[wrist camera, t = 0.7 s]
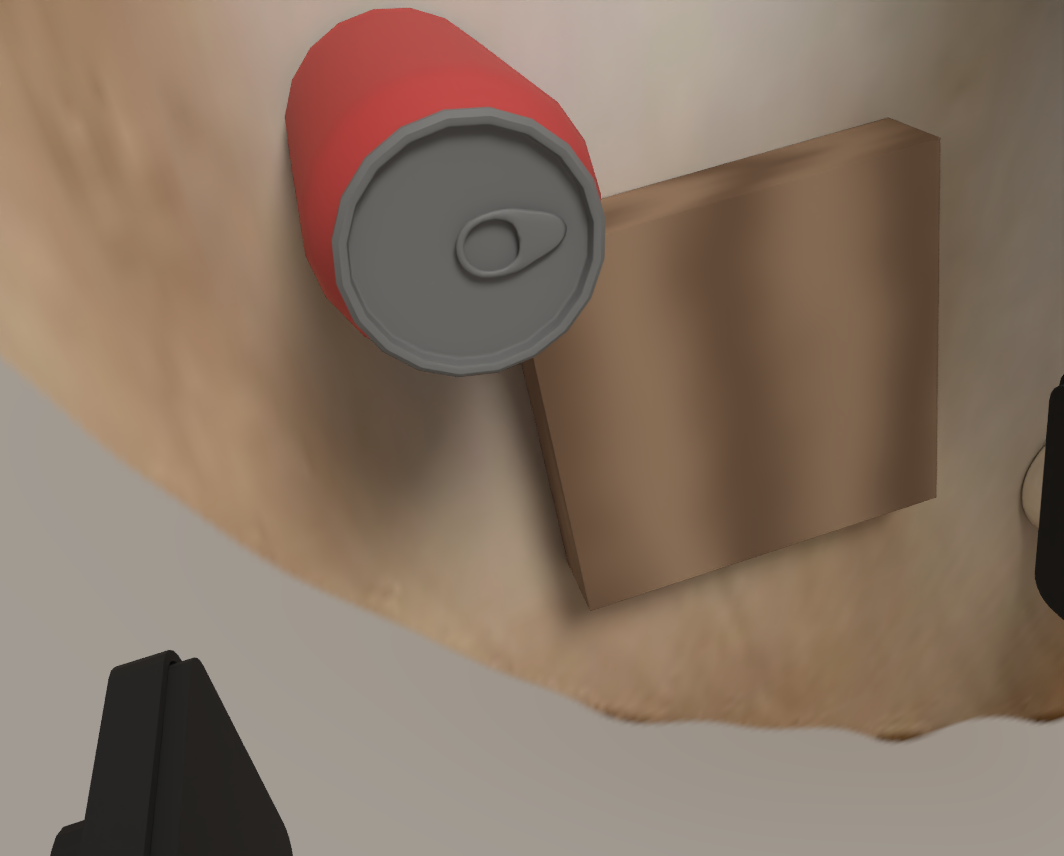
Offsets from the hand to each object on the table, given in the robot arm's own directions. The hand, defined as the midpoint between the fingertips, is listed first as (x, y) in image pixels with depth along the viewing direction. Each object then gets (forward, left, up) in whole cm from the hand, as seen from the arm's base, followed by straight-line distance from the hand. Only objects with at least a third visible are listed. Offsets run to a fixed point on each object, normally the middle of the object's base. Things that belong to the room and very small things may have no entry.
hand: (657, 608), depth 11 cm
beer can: (0, 0, -23) cm, 23 cm away
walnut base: (-9, +11, -23) cm, 27 cm away
